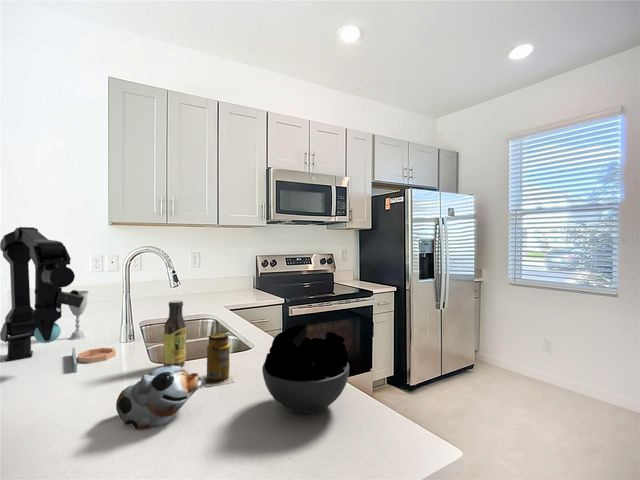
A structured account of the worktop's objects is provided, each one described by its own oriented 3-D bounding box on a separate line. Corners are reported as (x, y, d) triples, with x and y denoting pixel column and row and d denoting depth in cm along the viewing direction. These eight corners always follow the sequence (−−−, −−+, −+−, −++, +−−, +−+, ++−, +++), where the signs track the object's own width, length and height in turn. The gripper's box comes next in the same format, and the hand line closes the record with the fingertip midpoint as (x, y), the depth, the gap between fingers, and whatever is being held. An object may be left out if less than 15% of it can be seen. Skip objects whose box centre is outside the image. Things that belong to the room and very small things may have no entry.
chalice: (62, 338, 129) (62, 292, 129) (80, 334, 135) (80, 290, 135) (74, 341, 126) (74, 293, 126) (92, 336, 132) (92, 291, 132)
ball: (34, 342, 97) (34, 321, 97) (60, 338, 100) (60, 318, 100) (33, 347, 92) (33, 325, 92) (60, 343, 96) (60, 322, 96)
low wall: (72, 355, 110) (72, 347, 110) (74, 355, 111) (74, 347, 111) (74, 372, 96) (74, 363, 96) (76, 371, 96) (76, 363, 97)
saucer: (77, 356, 109) (77, 351, 109) (112, 350, 116) (112, 345, 116) (78, 365, 102) (78, 360, 102) (116, 358, 108) (116, 353, 108)
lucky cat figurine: (177, 394, 82) (201, 348, 81) (188, 434, 73) (215, 383, 72) (110, 395, 73) (136, 342, 71) (113, 441, 64) (143, 382, 62)
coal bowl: (250, 399, 80) (251, 322, 80) (322, 382, 90) (322, 313, 90) (282, 443, 63) (283, 344, 63) (367, 416, 73) (367, 331, 73)
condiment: (228, 371, 97) (228, 330, 98) (234, 382, 90) (234, 338, 90) (202, 375, 94) (202, 333, 94) (206, 387, 87) (206, 342, 87)
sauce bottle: (177, 371, 97) (177, 304, 97) (158, 369, 98) (158, 303, 99) (190, 363, 104) (190, 300, 104) (172, 361, 105) (172, 299, 105)
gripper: (83, 285, 94) (83, 340, 94) (80, 279, 109) (80, 327, 108) (32, 289, 87) (31, 348, 87) (35, 282, 102) (35, 333, 102)
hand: (47, 338), depth 96 cm, fingers closed on ball, 6 cm apart
